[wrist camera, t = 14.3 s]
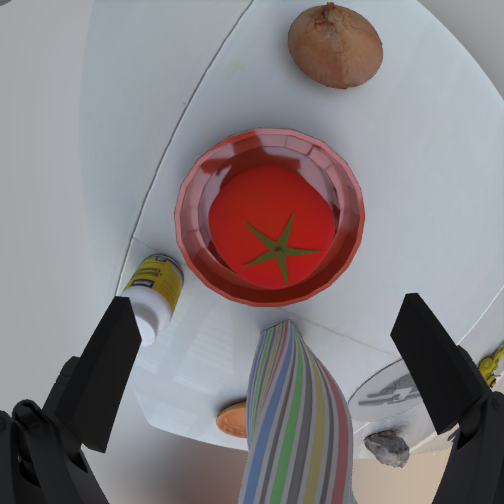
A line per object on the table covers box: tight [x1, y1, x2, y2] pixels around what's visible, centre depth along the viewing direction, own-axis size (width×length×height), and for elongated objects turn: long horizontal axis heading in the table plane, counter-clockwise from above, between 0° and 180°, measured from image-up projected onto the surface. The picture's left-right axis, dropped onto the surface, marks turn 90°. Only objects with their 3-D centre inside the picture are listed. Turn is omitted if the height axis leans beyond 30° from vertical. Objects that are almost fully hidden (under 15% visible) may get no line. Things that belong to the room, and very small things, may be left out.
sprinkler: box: [479, 346, 504, 388], centre depth 50 cm, size 19×8×20 cm
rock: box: [365, 431, 410, 468], centre depth 59 cm, size 16×10×15 cm, turn 26°
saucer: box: [216, 402, 247, 438], centre depth 51 cm, size 16×16×3 cm
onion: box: [288, 2, 383, 89], centre depth 20 cm, size 10×9×10 cm
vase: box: [238, 319, 358, 504], centre depth 28 cm, size 14×14×30 cm
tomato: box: [208, 165, 335, 289], centre depth 27 cm, size 11×12×10 cm
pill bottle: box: [120, 255, 184, 347], centre depth 31 cm, size 6×6×12 cm
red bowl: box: [174, 127, 365, 307], centre depth 30 cm, size 19×19×6 cm
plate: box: [348, 359, 423, 422], centre depth 51 cm, size 28×28×1 cm
